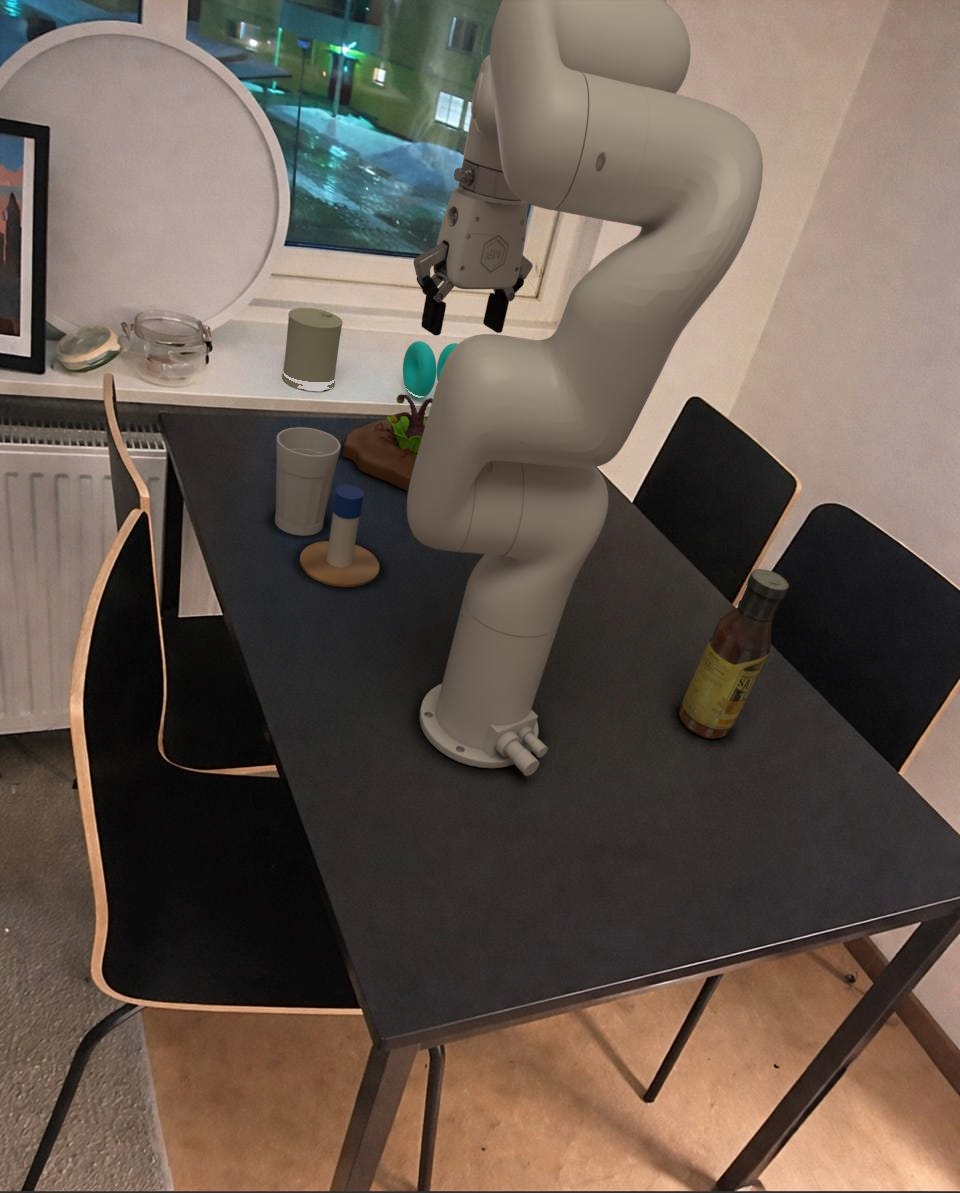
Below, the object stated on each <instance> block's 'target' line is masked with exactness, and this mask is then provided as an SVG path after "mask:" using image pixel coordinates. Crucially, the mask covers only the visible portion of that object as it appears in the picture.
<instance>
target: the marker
mask: <svg viewBox="0 0 960 1193" xmlns="http://www.w3.org/2000/svg"><path fill="white" fill-rule="evenodd" d="M364 496H365V494H364V491H363V490H362V489H361V488H359V487H357V486H355V485H352V484H351V485H350V484H342V485H339V486H337V487H336V488H335V492H334V498H333V505H332V519H331V526H330V532H329V540H328V541H329V546H328V553H327V562H328V563H329V564H330V565H332V566H334V567H338V568H346V567H349V566H350V565H351V564H352V559H353V553H354V547H355V545H356V542H357V541H356V539H357V534H358V529H359V528H358V527H359V521H360V516H361V514H362V507H363V502H364Z"/></svg>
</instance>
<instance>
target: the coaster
mask: <svg viewBox="0 0 960 1193" xmlns="http://www.w3.org/2000/svg"><path fill="white" fill-rule="evenodd" d="M328 546H329V540H323V541H318V542H314V543H311V544H310V545H308V546H306V547H305V548H303V549H302V551H301V553H300V555H299V564H300V565H299V566H300V567H301V569H302V570H303V572H304V573H305V574H307V576H309V577H310V578H312V579H314V580H315V581H317V582H319V583H321V584H325V585H328V586H331V587H332V586H333V587H338V588H357V587H360V586H365V585H367V584H369V583H371V582H373V581H374V580H376V578H377V577H378V575H379V572H380V563H379V561H378V559H377V557H376V556H375V554H373V553H372V552H370V550H368V549H366V548H364V547H362V546H360V545H358V544H355V547H354V553H353V559H352V564H351V565H350V566H349V567H346V568H338V567H334V566H332V565H330V564H329V563H328V562H327V553H328Z"/></svg>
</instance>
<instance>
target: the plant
mask: <svg viewBox="0 0 960 1193" xmlns="http://www.w3.org/2000/svg"><path fill="white" fill-rule="evenodd" d="M405 400H406V401H407V403H408V404H409V408H410V412H407V411H402V412H397V413H394V414H392V415H391V416H390V415H387V416H386V419H382V420H376V421H371V422H369V423H368V424H365V425H363V426H361V427H358V428H354V429H352V430H350V432H349V433H348V434H346V436H345V438H344V444H343V448H342V457H343V458H345V459H348V460H350V461H352V462H353V463H354V464H355V465H356V466H357V469H358V471H360V472H361V473H364V474H367V475H369V476H371V477H373V478H376V479H378V480H380V481H383V482H386V483H388V484H390V485H391V486H395V487H397V488H399V489H401V490H403V491H405V492H408V490H409V484H410V480H411V476H412V472H413V468H414V464H415V460H416V457H417V454H418V450H419V447H420V443H421V439H422V436H423V432H424V429H425V425H426V422H427V419H426V418H425V416H426V411H427V407H429V404H432V400H433V397H430V398H426V399H425V400H424V402H422V404H421V405H420V407H419V409H418V411H417V407H416V404H415V403H414V401H413V399H412V398H411V397H410V396H409V394H404V393H403V394H402V393H400V394H398V395H397V396H396V402H397V403H398V404H404V402H405Z"/></svg>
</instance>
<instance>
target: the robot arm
mask: <svg viewBox="0 0 960 1193" xmlns="http://www.w3.org/2000/svg"><path fill="white" fill-rule="evenodd" d="M685 25H686V24H685V23H684V21H683V19H682V18H681V16H680V15H679V14H678V13H677V11H676V10H675V9H674V8H673V7H672V6H671V5H670V4H669V3H668V2H666V1H665V0H502V1H501V3H500V4H499V7H498V10H497V13H496V15H495V19H494V24H493V28H492V32H491V39H490V46H489V55H486V57H484V59H483V60H482V62H481V65H480V68H479V73H478V75H477V77H476V80H475V82H474V87H473V90H472V96H471V104H470V113H471V115H470V119H469V120H470V121H469V124H468V125H469V126H468V130H467V136H466V140H465V147H464V152H463V157H462V163H461V166H460V167H457V168H455V170H454V172H453V178H454V180H455V181H456V182H458V184H457V188H453V191H452V193H451V196H450V198H449V200H448V204H447V206H446V210H445V212H444V215H443V218H442V223H441V226H440V229H439V233H438V238H437V243H436V246H434V247H432V248H430V249H429V250H427V251H425V252H423V253H422V254H420V255H418V256H416V257H415V258H414V259H413V261H412V262H413V267H414V271H415V275H416V282H417V284H418V285H419V287H420V288H421V293H422V294H423V295H425V300H424V305H423V310H422V317H421V323H420V324H421V328H423V329H424V330H426V331H427V332H429V333H430V334H431V335H433V336H440V335H441V334H442V330H443V324H444V320H445V314H446V309H447V303H446V302H445V301H444V299H446V297H447V296H448V294H449V293H450V292H451V291H452V290H453V289H454V288H457V289H460V290H493V292H490V293H489V296H488V297H487V298H488V299H487V303H486V308H485V312H484V316H483V321H482V324H483V326H485V327H487V328H488V329H490V330H492V331H493V332H495V333H492V334H491V333H482V334H475V335H472V336H471V335H470V336H469V337H466V338H465V339H463V340H462V341H460V342H459V343H458V345H457V346H456V347H455V348H454V349H453V351H452V352H451V353H450V355H449V356H448V358H447V360H446V362H445V364H444V366H443V369H442V371H441V374H440V377H439V380H437V383H436V386H435V389H434V392H433V393H434V394H433V397H432V399H433V400H432V403H430V407H429V412H428V415H427V418H426V420H427V422H426V425H425V429H424V432H423V436H422V439H421V443H420V447H419V450H418V454H417V457H416V460H415V464H414V468H413V472H412V476H411V480H410V484H409V490H408V491H407V497H406V519H407V523H408V526H409V529H410V532H411V533H412V535H413V537H414V538H415V539H416V540H417V541H418V542H419V543H420V544H422V545H424V546H426V547H428V548H431V549H432V550H433V549H434V550H438V551H444V552H455V553H463V554H479V555H483V556H482V557H481V558H480V559H479V560H478V561H477V563H476V564H475V566H474V568H473V570H472V571H471V573H470V575H469V577H468V580H467V583H466V586H465V590H464V594H463V599H462V603H461V605H460V606H461V607H460V611H459V614H458V617H457V618H458V619H457V623H456V627H455V630H454V634H453V638H452V642H451V647H450V650H449V654H448V659H447V663H446V667H445V671H444V675H443V679H442V683H440V684H437V685H436V686H435V687H433V688H431V690H429V691H428V692H427V693H426V694H425V696H424V698H423V699H422V701H421V705H420V708H419V715H418V719H419V725H420V728H421V731H422V732H423V735H424V737H426V739H427V740H428V741H429V743H430V744H431V745H432V746H433V747H434V748H436V750H438V751H439V752H441V753H442V754H443V755H445V756H446V757H448V758H450V759H452V760H454V761H455V762H458V763H460V764H461V763H462V764H464V765H466V766H470V767H477V768H481V769H482V768H483V769H499V768H506V767H511V766H513V765H514V766H515V767H516V768H517V769H518V770H519V771H520V772H521V773H522V774H523V775H524V776H526V777H528V776H531V775H533V774H534V773H535V772H536V771H537V770H538V768H539V767H540V761H539V760H538V759H537V758H540V759H541V758H542V757H544V756H545V755H547V753H548V750H549V747H548V746H547V745H545V743H544V742H543V741H541V739H539V738H538V737H539V732H540V730H539V723H538V717H539V715H538V714H537V713H536V712H535V711H534V710H533V705H534V702H535V699H536V696H537V692H538V690H539V686H540V685H541V684H540V683H541V680H542V678H543V674H544V671H545V668H546V665H547V663H548V659H549V656H550V653H551V650H552V647H553V644H554V641H555V638H556V634H557V632H558V628H559V626H560V623H561V619H562V617H563V614H564V611H565V607H566V605H567V602H568V600H569V597H570V594H571V592H572V588H573V586H574V585H575V581H576V579H577V576H578V575H579V573H580V570H581V569H582V566H583V565H584V563H585V561H586V559H587V558H588V557H589V555H590V553H591V551H592V549H593V548H594V546H595V545H596V542H597V541H598V539H599V537H600V534H601V533H602V530H603V527H604V525H605V522H606V519H607V515H608V510H609V500H610V498H609V490H608V486H607V482H606V480H605V479H604V475H602V473H601V472H600V471H599V470H598V467H600V466H603V465H606V464H608V463H609V462H610V461H612V460H613V459H614V458H615V457H617V455H618V454H619V452H620V451H621V450H622V448H623V447H624V446H625V443H626V442H627V440H628V439H629V436H630V435H631V433H632V431H633V429H634V427H635V425H636V424H637V421H638V419H639V417H640V416H641V413H642V412H643V409H644V408H645V406H646V403H647V401H648V399H649V397H650V395H651V393H652V391H653V389H654V387H655V385H656V384H657V381H658V379H659V377H660V375H661V374H662V372H663V370H664V368H665V366H666V363H667V361H668V359H669V357H670V355H671V352H672V350H673V348H674V346H675V345H676V344H677V342H678V340H679V339H680V336H681V335H682V333H683V332H684V330H685V329H686V327H687V325H688V324H690V321H691V320H692V319H693V318H694V317H695V315H696V314H697V312H698V311H699V310H700V308H702V306H703V304H704V303H705V302H706V301H707V300H708V298H709V297H710V296H711V294H712V293H713V292H714V291H715V289H716V288H717V287H718V285H719V284H720V283H721V282H722V280H723V278H724V277H725V276H726V274H727V273H728V271H729V270H730V269H731V266H732V265H733V263H734V262H735V260H736V258H737V257H738V255H739V253H740V251H741V249H742V247H743V245H744V243H745V241H746V239H747V236H748V235H749V232H750V230H751V226H752V224H753V221H754V218H755V215H756V212H757V209H758V205H759V201H760V196H761V191H762V183H763V174H764V172H763V171H764V169H763V168H764V164H763V153H762V148H761V145H760V143H759V140H758V138H757V136H756V135H755V133H754V132H753V131H752V129H751V128H750V127H749V125H748V124H747V123H746V122H744V121H742V120H741V119H740V118H739V117H737V116H736V115H735V114H733V113H730V112H729V111H727V110H725V109H723V108H721V107H719V106H716V105H714V104H711V103H708V102H706V101H703V100H701V99H700V100H699V99H696V98H693V97H689V96H685V95H682V94H678V91H679V90H680V88H681V87H682V85H683V83H684V81H685V79H686V77H687V74H688V71H689V66H690V62H691V42H690V37H689V33H688V31H687V28H686V26H685ZM528 204H529V205H531V206H533V207H537V208H540V209H544V210H549V211H555V212H560V213H566V214H572V215H576V216H580V217H587V218H591V219H596V220H597V219H598V220H603V221H606V222H612V223H617V224H623V225H624V224H625V225H630V226H634V227H640V231H639V232H638V234H637V235H636V236H635V237H634V238H633V239H630V241H628V242H626V243H625V244H622V245H621V246H619V247H618V248H616V249H614V250H612V251H611V252H610V253H609V254H607V255H606V256H604V258H602V259H601V260H599V262H598V263H597V264H596V265H595V266H593V268H591V269H590V270H588V272H586V273H585V274H584V275H583V276H582V277H581V279H580V280H579V281H578V282H577V283H576V284H575V286H574V287H573V289H572V290H571V292H570V294H569V297H568V298H567V302H566V305H565V308H564V310H563V313H562V316H561V318H560V321H559V324H558V326H557V327H556V329H555V331H554V333H553V334H551V335H550V337H547V338H544V339H534V338H533V339H531V338H526V337H519V336H511V335H504V334H501V333H503V330H504V325H505V321H506V316H507V313H508V308H509V304H510V302H513V301H514V300H515V297H516V293H518V291H519V290H520V289H521V288H522V287H523V286H524V284H525V280H526V279H527V278H528V276H529V274H530V272H532V269H533V266H534V265H533V263H532V262H531V261H530V260H529V259H528V258H527V257H525V256H524V249H525V242H526V235H527V227H528V226H527V225H528ZM432 267H433V275H431V269H432ZM533 754H534V755H535V756H536V757H537V758H536V757H535V756H534V755H533Z"/></svg>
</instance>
